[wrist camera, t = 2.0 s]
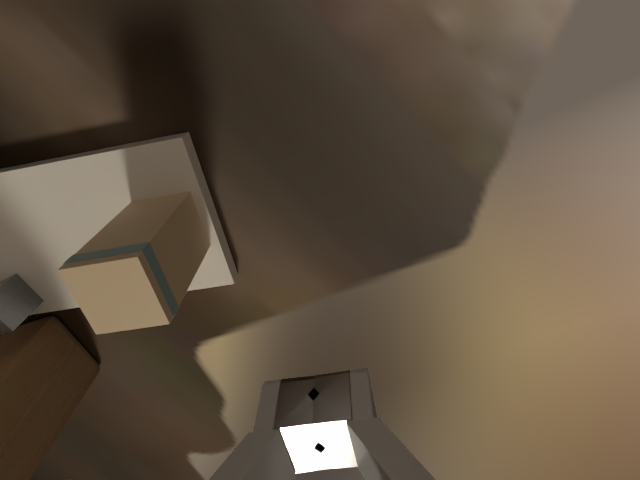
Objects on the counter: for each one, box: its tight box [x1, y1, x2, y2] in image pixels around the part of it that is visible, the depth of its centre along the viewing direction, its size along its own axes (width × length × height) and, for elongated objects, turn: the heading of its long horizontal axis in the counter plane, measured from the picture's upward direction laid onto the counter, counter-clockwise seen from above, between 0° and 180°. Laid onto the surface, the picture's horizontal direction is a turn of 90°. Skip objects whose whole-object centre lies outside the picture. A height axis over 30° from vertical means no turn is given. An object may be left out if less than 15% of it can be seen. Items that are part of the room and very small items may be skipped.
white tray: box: [0, 132, 238, 315], centre depth 41 cm, size 16×28×2 cm, turn 101°
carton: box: [58, 191, 211, 335], centre depth 34 cm, size 6×6×12 cm
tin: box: [0, 273, 44, 337], centre depth 42 cm, size 4×4×5 cm
